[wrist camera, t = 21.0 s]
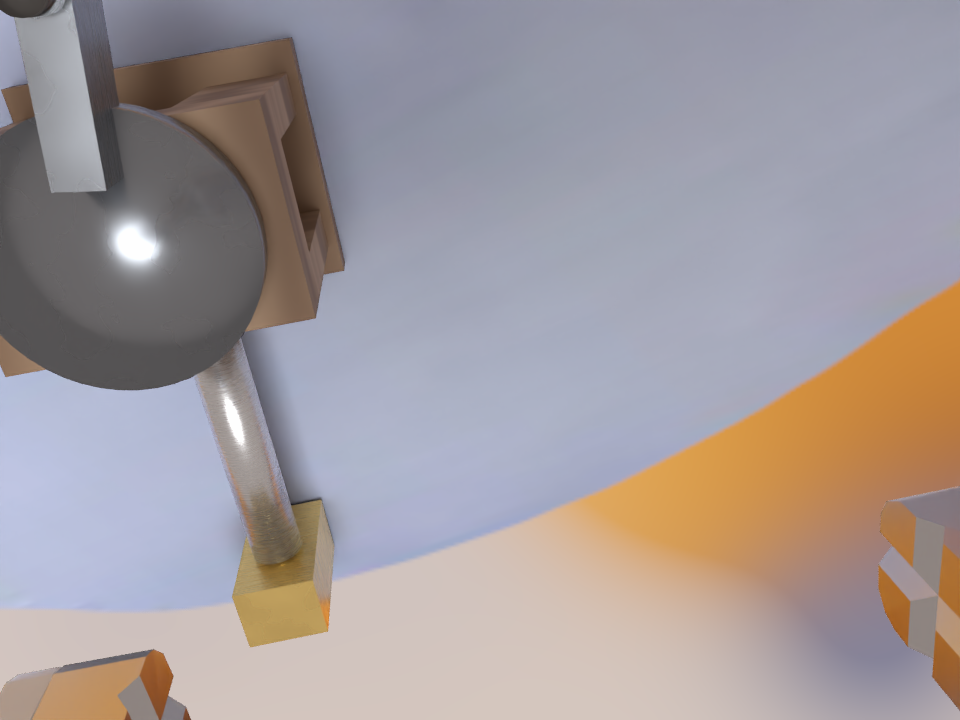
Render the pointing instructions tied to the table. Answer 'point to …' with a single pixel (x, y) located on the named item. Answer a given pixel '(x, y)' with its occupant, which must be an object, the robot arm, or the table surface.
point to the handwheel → (116, 221)
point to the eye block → (242, 161)
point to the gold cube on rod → (267, 515)
